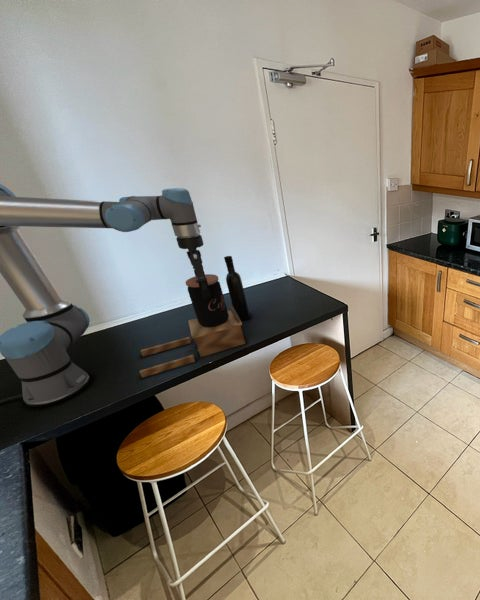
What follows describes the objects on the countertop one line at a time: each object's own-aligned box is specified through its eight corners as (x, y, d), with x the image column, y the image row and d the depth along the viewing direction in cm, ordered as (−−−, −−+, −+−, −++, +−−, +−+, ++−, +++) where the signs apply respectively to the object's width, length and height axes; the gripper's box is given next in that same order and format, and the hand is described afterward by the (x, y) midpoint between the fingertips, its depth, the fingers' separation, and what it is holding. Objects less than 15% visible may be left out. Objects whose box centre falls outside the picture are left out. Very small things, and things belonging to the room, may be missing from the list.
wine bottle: (236, 321, 144) (219, 259, 130) (236, 316, 148) (220, 255, 135) (250, 319, 146) (235, 257, 133) (249, 313, 150) (235, 254, 137)
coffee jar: (216, 329, 118) (203, 286, 110) (192, 326, 120) (177, 283, 112) (235, 316, 128) (224, 275, 120) (212, 313, 130) (200, 273, 122)
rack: (142, 378, 109) (128, 349, 104) (142, 355, 121) (130, 328, 115) (247, 345, 127) (240, 319, 122) (239, 328, 139) (232, 303, 133)
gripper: (205, 242, 102) (221, 300, 111) (196, 227, 120) (211, 278, 129) (178, 245, 98) (196, 306, 107) (173, 229, 116) (189, 282, 125)
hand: (204, 291), depth 118 cm, fingers open, 13 cm apart
